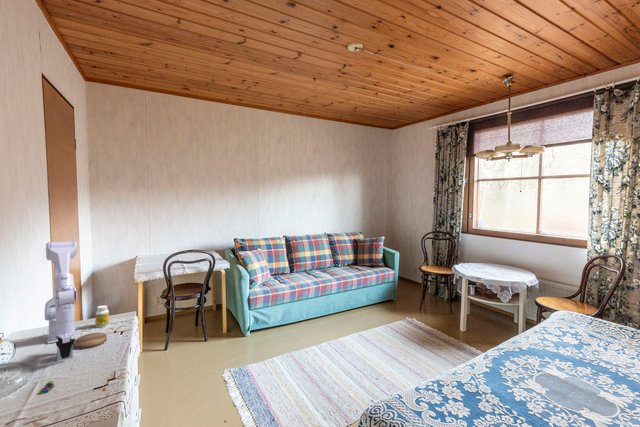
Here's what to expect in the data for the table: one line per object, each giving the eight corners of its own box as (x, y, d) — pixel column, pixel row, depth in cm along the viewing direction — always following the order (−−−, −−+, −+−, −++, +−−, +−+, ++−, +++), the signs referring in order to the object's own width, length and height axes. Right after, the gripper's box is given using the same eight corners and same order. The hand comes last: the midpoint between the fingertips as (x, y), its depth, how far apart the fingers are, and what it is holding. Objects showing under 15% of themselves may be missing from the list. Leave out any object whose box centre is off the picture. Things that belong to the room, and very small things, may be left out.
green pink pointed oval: (44, 388, 98) (44, 381, 98) (54, 387, 98) (54, 380, 98) (35, 396, 94) (35, 389, 94) (45, 395, 94) (45, 388, 94)
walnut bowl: (73, 341, 128) (73, 337, 128) (104, 334, 136) (104, 330, 136) (75, 351, 120) (75, 347, 120) (108, 343, 128) (108, 339, 128)
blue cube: (56, 356, 116) (57, 345, 116) (71, 353, 119) (71, 342, 119) (57, 361, 113) (57, 350, 113) (72, 357, 116) (72, 346, 116)
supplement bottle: (109, 322, 149) (109, 304, 149) (108, 326, 144) (108, 307, 144) (95, 324, 146) (96, 305, 146) (94, 328, 142) (95, 309, 141)
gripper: (51, 316, 118) (50, 349, 119) (51, 329, 107) (51, 365, 108) (74, 312, 123) (73, 344, 123) (76, 324, 112) (76, 358, 113)
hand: (64, 353), depth 116 cm, fingers open, 7 cm apart
